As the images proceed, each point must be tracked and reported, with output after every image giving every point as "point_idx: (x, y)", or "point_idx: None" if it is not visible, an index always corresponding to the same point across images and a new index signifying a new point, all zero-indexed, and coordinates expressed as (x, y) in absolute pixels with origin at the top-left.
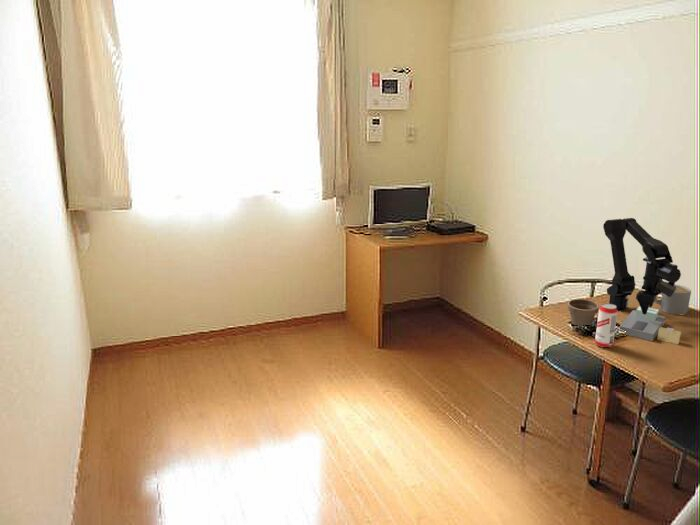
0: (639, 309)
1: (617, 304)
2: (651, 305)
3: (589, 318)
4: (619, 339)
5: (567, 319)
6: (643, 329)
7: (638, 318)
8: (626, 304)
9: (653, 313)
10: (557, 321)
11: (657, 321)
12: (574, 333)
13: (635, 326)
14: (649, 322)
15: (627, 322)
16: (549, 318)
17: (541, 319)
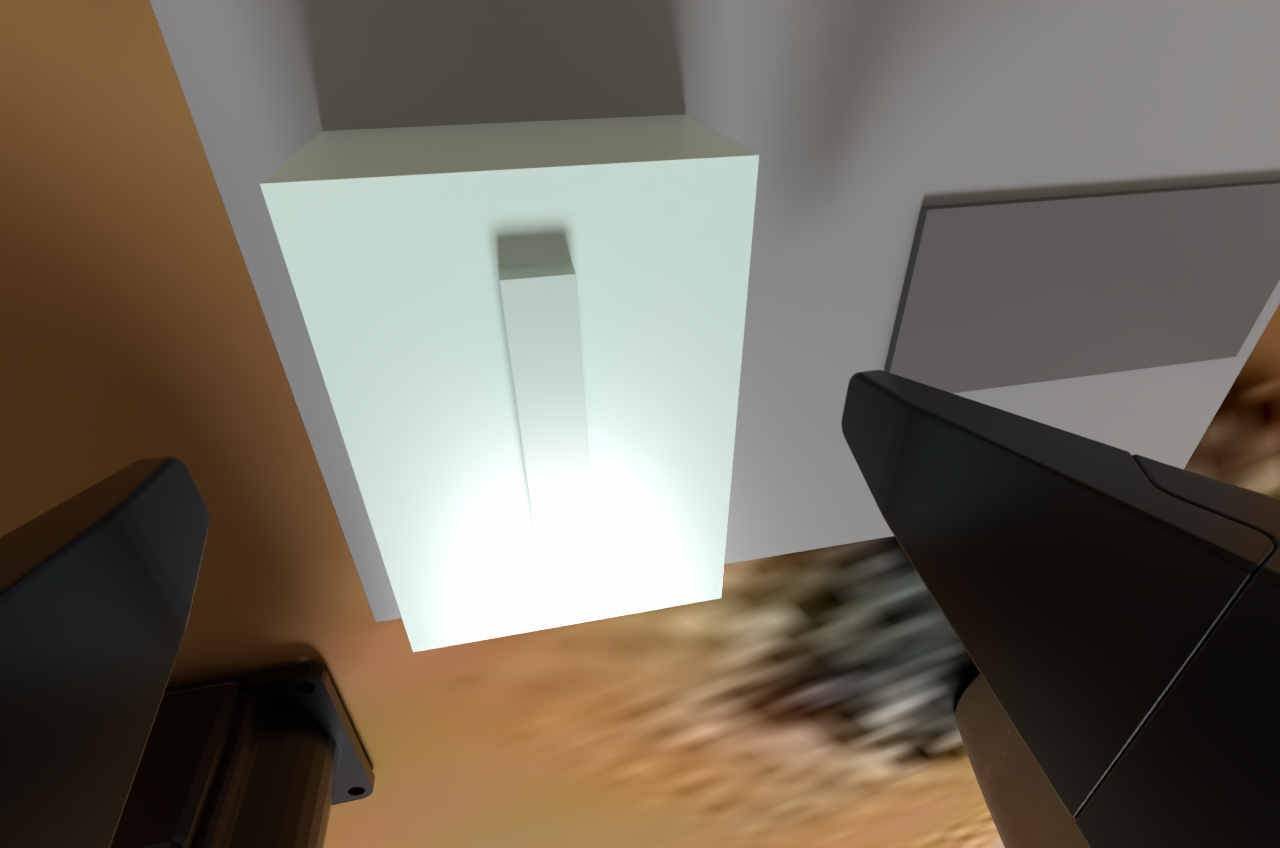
0: (676, 569)
1: (313, 803)
2: (151, 496)
3: None
4: (1263, 353)
5: (902, 784)
6: (1263, 175)
7: (748, 421)
8: (199, 761)
9: (747, 231)
10: (970, 792)
11: (700, 32)
12: None
13: (1176, 329)
14: (865, 188)
15: None
16: (934, 831)
17: (972, 839)
